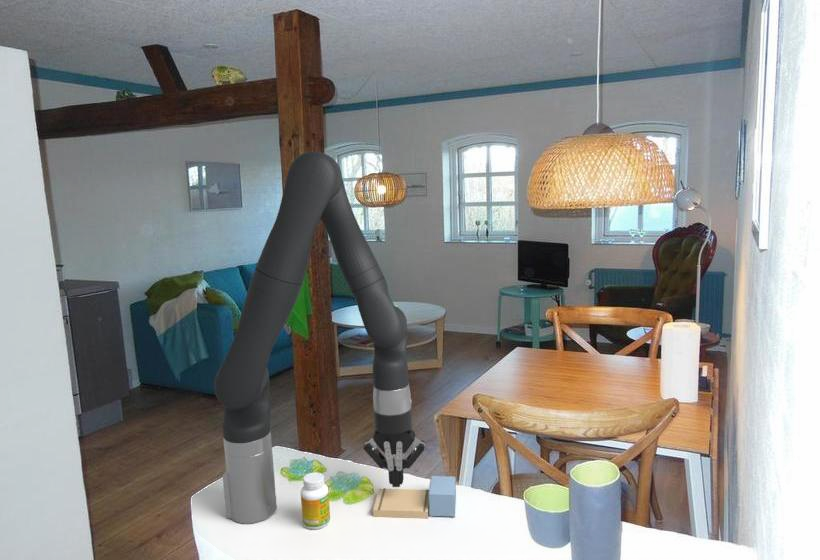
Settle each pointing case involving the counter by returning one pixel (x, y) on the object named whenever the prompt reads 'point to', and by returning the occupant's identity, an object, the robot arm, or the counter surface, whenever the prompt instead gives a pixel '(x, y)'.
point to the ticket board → (402, 503)
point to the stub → (442, 496)
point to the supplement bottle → (315, 501)
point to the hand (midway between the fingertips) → (396, 485)
